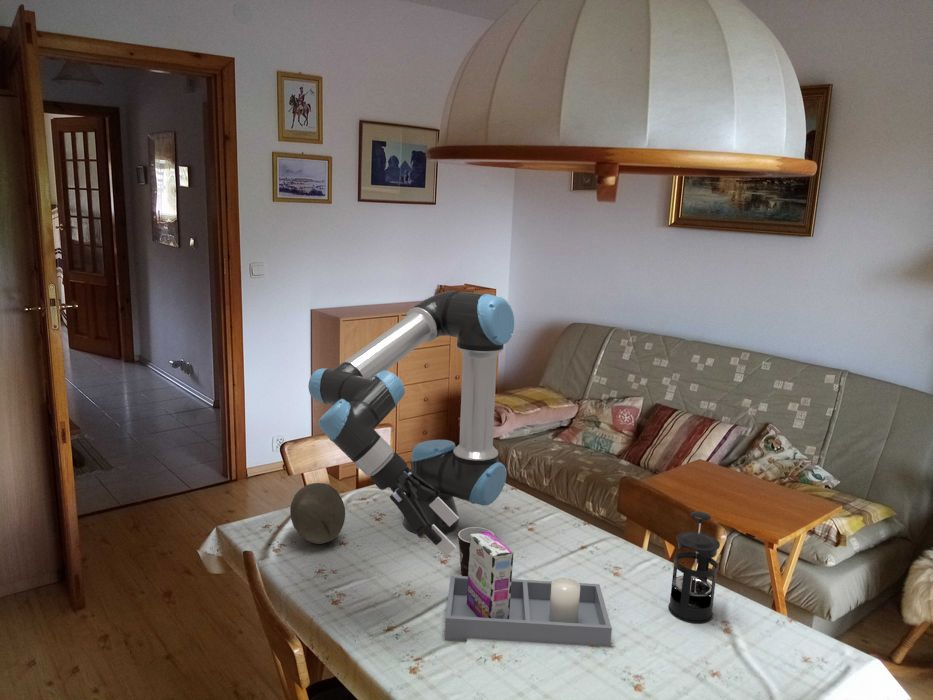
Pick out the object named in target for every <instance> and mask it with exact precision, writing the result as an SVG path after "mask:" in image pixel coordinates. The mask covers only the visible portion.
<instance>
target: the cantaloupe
mask: <svg viewBox="0 0 933 700" xmlns="http://www.w3.org/2000/svg"><path fill="white" fill-rule="evenodd" d="M345 507H346V506H345V503H344V501H343V499H342V497H341V495H340V493H339V492H338V490H337V489H335V488H334V486H332V485H330V484H328V483H322V482H314V483H310V484H307V485H305V486H303V487H301V488H300V489H299V490H297V492H296V493H295V494H294V495H293V499H292V501H291V502H290V509H289V510H290V511H289V514H290V518H291V523H292V525H293V528H294V529H295V531H296V532H297V534H299V536H301V538H302V539H304V540H306V541H308V542H310V543H313V544H316V545H324V544H326V543H328V542H331V541H334V540H335V539H337V537H338V536H339V535H340V533H341V531H342V529H343V526H344V524H345V521H346V508H345Z"/></svg>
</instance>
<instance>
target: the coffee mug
mask: <svg viewBox="0 0 933 700" xmlns="http://www.w3.org/2000/svg"><path fill="white" fill-rule="evenodd" d="M486 531H490V532H491V533H492V534H493V535H494V536H495V533H494V532H493V531H492V530H490V529H487V528H484V527H477V526H473V527H471V526H470V527H466V528H463V529H461V530H460V531H458V534H457V536H458V537H457V538H458V548H459V549H458V550H459V563H460V576H468V570H469V551H470V534H474V533H480V532H486ZM495 537H496V536H495Z"/></svg>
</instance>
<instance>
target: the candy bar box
mask: <svg viewBox="0 0 933 700" xmlns="http://www.w3.org/2000/svg"><path fill="white" fill-rule="evenodd" d="M490 531H491V530H490ZM490 531H486V532H480V533H474V534H470V551H469V570H468V588H467V604H468V606H469V607H470V608H471V609H472V610H473V611H474V613H475V614H476V615H477V616H478V617H480V618H497V619H509V611H510V596H511V581H512V579H513V578H512V577H513V566H514V565H513V564H514V552H513V551H512V550H511V549H510V548H509V547H508V546H506V544H504V543H503V541H501V540H500V539H498V538H497V537H496V536H494V535H495V534H494V535H493V534H492V533H491V532H490Z"/></svg>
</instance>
